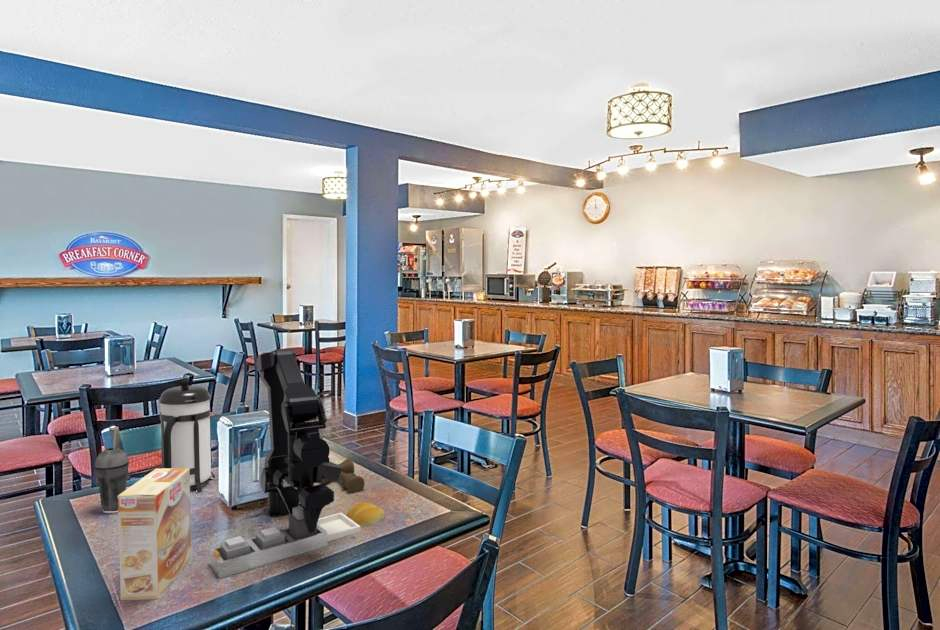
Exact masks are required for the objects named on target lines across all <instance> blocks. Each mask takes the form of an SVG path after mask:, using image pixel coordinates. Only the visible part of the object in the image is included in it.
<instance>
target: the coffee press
mask: <svg viewBox="0 0 940 630" xmlns="http://www.w3.org/2000/svg"><path fill="white" fill-rule="evenodd" d="M179 382H180V385H179V386H173V387H170V388H168V389H166V390H164V391H162V393H161V395H160V397H158V403H159V404H160V412H159V420H160V429H161V430H160V434H161V435H160V436H161V438H160V440H161V443H160V444H161V468H190V487H193V489H194V491H195V490H197V491H199V492H201V491H200V490H202V491H203V487H202V483H204V482H206V481H208V478H209V480H210V478H211V477H213V478H214V479H215V478H216V476H215V474H214V473H213V472H212V462H211V461H212V459H211V455H212V453H211V452H212V451H211V407H210V405H211V404H210V400H211V398H212V394H211V393H210V391H208V389H207V388H206V387H203V386H199V385H190V379H189V378H187V377H183V378H181V380H180V381H179Z"/></svg>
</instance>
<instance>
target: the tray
mask: <svg viewBox="0 0 940 630" xmlns="http://www.w3.org/2000/svg"><path fill="white" fill-rule="evenodd" d="M317 524H318V525H319V526H321V527H322V528H323V529H324V530H325V531H327V538H328V542H331V541H333V540H334V541H335V540H338V539H340V538H344V537H348V536H351V535H355V534H357V533H361V532H362V528H361V527H362V526H360V525H358V524H357V523H355V522H354V521H353V520H351V519H350V518H348V517H347V514H346V515H345V514H344V513H343V512H338V513H334V514H330V515H327V516H324V517H323V516H322V517H319V519H318V522H317Z"/></svg>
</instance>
